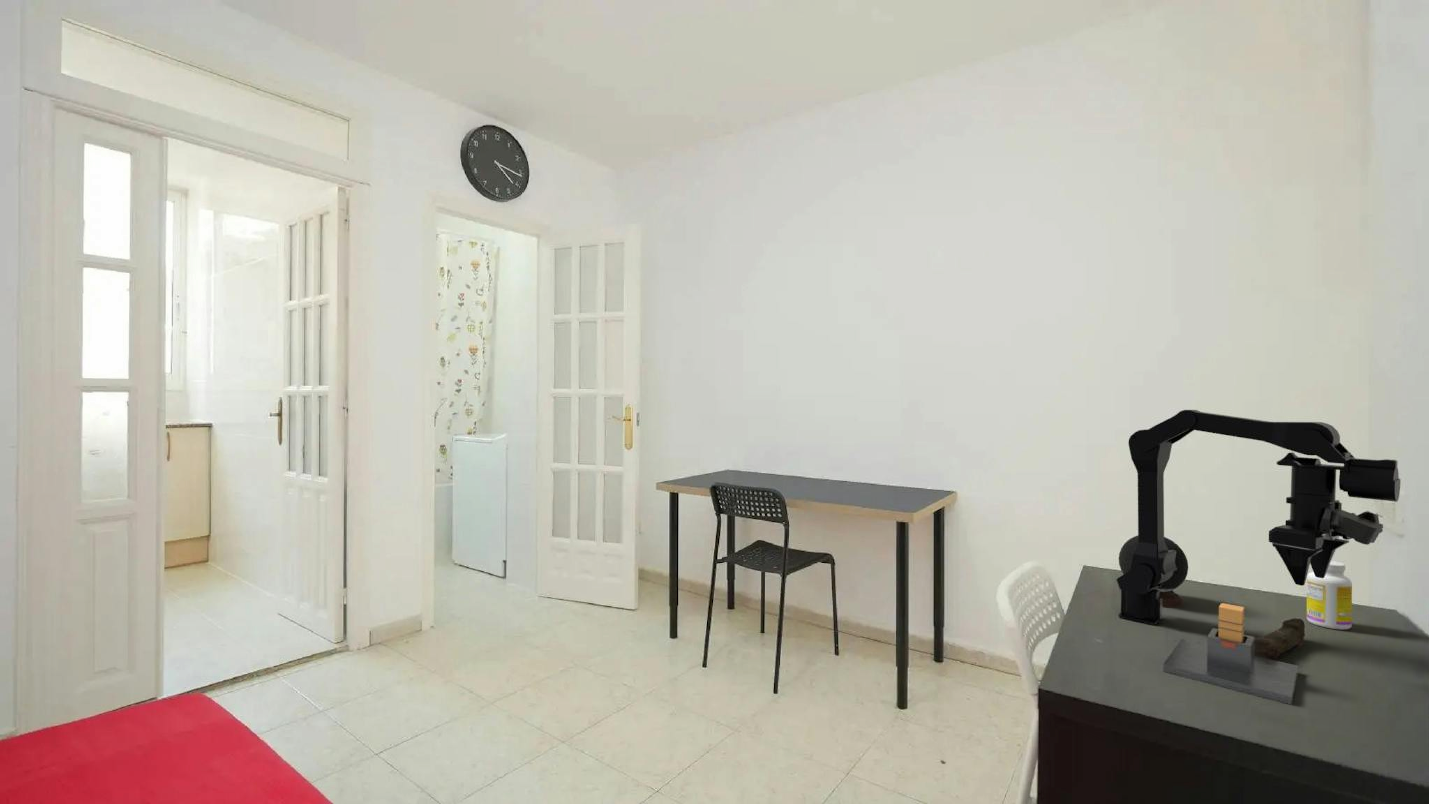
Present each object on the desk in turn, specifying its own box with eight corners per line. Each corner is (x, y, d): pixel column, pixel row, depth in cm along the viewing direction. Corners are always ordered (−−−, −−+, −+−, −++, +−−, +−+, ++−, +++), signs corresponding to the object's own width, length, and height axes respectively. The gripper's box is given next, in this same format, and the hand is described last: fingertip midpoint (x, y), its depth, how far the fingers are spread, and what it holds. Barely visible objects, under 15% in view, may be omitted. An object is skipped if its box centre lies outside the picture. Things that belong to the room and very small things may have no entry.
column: (1217, 663, 107) (1218, 607, 106) (1220, 657, 109) (1221, 602, 109) (1241, 668, 104) (1242, 611, 104) (1243, 663, 107) (1244, 607, 106)
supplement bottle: (1350, 624, 130) (1351, 562, 130) (1352, 633, 125) (1353, 568, 125) (1306, 616, 134) (1307, 556, 134) (1306, 624, 130) (1307, 562, 129)
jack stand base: (1163, 671, 107) (1163, 635, 107) (1181, 645, 118) (1181, 613, 118) (1291, 704, 95) (1292, 665, 95) (1297, 672, 106) (1298, 637, 106)
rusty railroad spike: (1275, 665, 110) (1276, 639, 110) (1247, 657, 114) (1248, 631, 114) (1320, 646, 119) (1321, 621, 119) (1293, 638, 123) (1294, 615, 123)
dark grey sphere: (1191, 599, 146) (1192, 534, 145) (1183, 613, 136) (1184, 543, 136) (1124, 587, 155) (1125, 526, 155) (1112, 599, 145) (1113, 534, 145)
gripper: (1357, 504, 99) (1354, 603, 100) (1395, 496, 109) (1392, 586, 109) (1268, 494, 109) (1266, 584, 109) (1309, 487, 119) (1307, 570, 119)
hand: (1310, 581), depth 111 cm, fingers open, 9 cm apart
